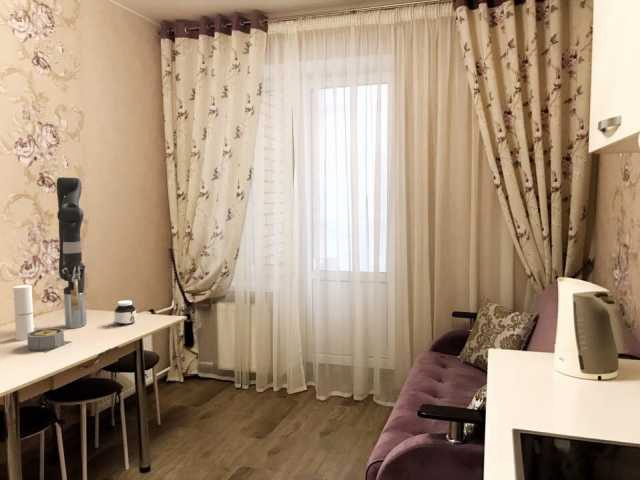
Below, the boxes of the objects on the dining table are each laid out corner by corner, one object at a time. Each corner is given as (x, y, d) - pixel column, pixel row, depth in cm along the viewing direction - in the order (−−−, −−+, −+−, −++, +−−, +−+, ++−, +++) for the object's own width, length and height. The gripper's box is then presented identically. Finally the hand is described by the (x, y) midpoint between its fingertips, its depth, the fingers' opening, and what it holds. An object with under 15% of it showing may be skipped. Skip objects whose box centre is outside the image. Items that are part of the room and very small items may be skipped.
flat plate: (45, 341, 227) (45, 339, 227) (72, 343, 224) (72, 341, 224) (18, 352, 212) (17, 350, 212) (46, 354, 209) (46, 352, 209)
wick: (74, 308, 230) (73, 278, 229) (80, 308, 230) (78, 279, 228) (70, 310, 227) (68, 279, 226) (75, 310, 227) (74, 280, 225)
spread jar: (122, 327, 252) (121, 304, 251) (108, 324, 258) (107, 302, 257) (141, 322, 262) (141, 300, 261) (127, 319, 268) (127, 297, 267)
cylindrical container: (26, 342, 225) (23, 288, 223) (12, 341, 227) (9, 287, 225) (37, 338, 232) (35, 285, 230) (24, 337, 234) (21, 284, 232)
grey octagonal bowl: (44, 340, 226) (43, 327, 226) (70, 342, 223) (69, 329, 223) (20, 349, 213) (19, 335, 212) (47, 351, 210) (47, 337, 209)
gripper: (75, 249, 234) (77, 285, 235) (54, 253, 220) (56, 291, 222) (89, 250, 232) (91, 286, 234) (68, 253, 218) (70, 292, 220)
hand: (74, 288), depth 228 cm, fingers closed on wick, 3 cm apart
